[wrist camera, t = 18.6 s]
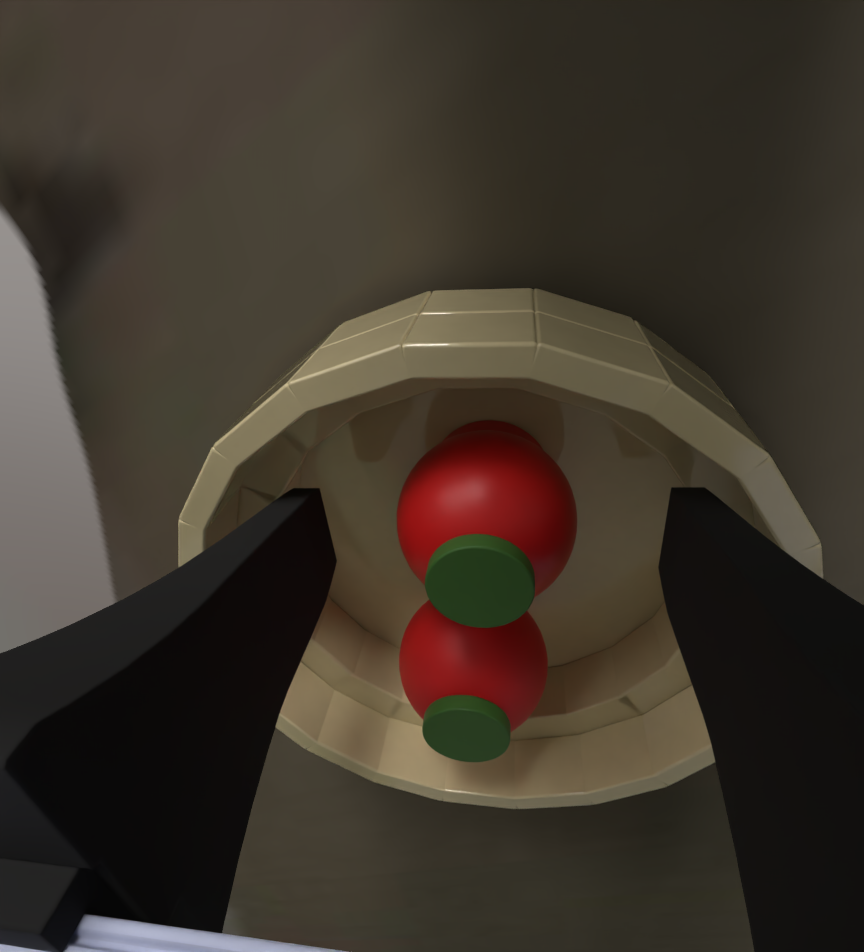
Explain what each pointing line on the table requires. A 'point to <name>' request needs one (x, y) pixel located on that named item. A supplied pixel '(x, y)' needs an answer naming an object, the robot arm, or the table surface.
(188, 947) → the robot arm
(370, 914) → the table surface
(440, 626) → the strawberry
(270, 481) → the bowl
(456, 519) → the strawberry
